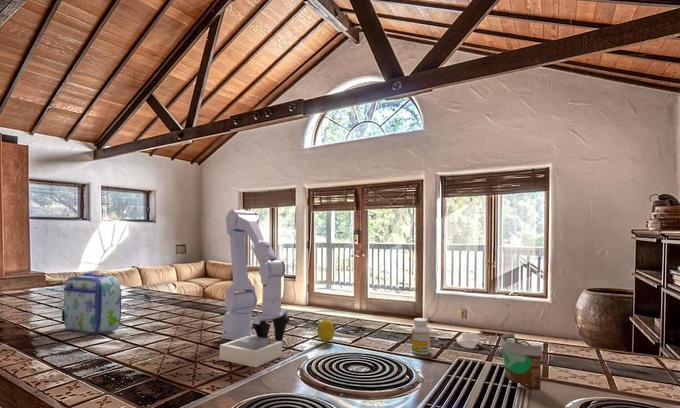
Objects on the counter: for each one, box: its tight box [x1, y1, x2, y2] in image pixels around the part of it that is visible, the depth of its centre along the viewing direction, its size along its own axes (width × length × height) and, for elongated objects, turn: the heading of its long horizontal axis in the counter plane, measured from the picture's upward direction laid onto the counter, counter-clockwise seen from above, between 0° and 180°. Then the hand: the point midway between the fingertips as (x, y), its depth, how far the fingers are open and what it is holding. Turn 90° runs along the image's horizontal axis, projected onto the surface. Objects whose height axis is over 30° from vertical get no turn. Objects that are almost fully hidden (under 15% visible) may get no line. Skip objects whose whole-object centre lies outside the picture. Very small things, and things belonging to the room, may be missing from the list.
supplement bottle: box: [411, 317, 431, 356], centre depth 114 cm, size 5×5×10 cm
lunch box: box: [61, 272, 122, 335], centre depth 141 cm, size 26×11×21 cm, turn 58°
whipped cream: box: [456, 332, 483, 350], centre depth 121 cm, size 8×7×5 cm
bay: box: [219, 336, 283, 368], centre depth 109 cm, size 14×11×4 cm
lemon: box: [317, 317, 336, 344], centre depth 124 cm, size 6×6×8 cm
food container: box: [499, 332, 543, 391], centre depth 91 cm, size 12×6×10 cm, turn 5°
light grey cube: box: [237, 336, 268, 350], centre depth 109 cm, size 6×6×5 cm
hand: (271, 343), depth 116 cm, fingers open, 7 cm apart
